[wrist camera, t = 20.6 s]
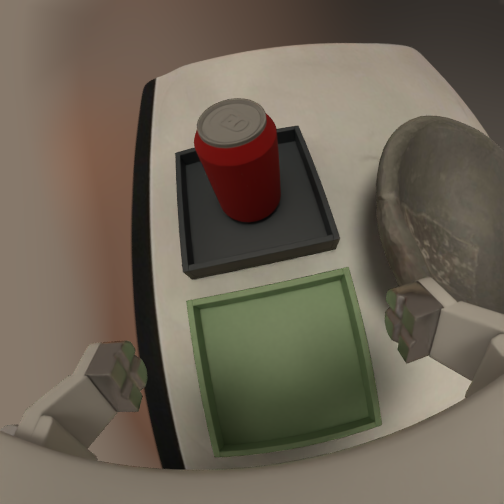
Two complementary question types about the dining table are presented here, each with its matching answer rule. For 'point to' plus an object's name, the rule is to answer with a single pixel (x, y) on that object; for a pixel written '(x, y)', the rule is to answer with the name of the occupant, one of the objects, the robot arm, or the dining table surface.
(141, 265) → the dining table surface
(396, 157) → the bowl
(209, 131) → the beverage can
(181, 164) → the slate tray
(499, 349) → the robot arm
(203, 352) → the sage tray
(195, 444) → the dining table surface
